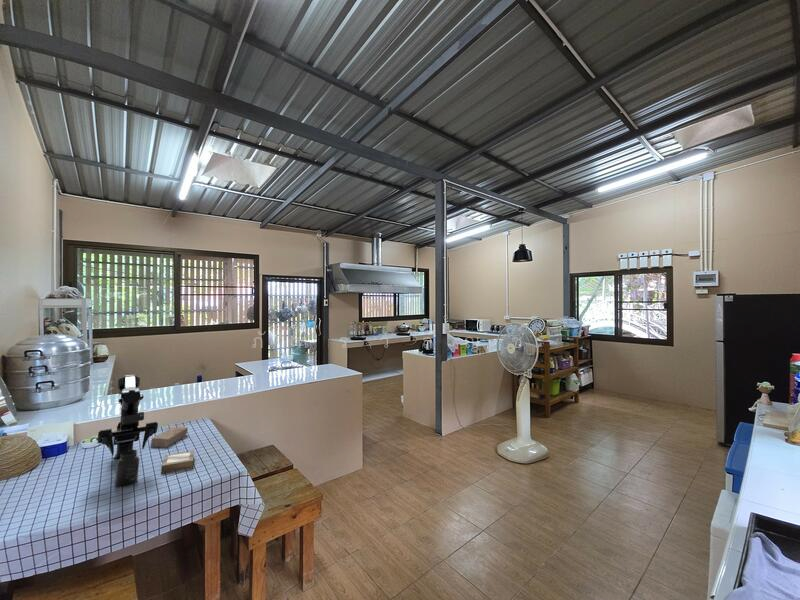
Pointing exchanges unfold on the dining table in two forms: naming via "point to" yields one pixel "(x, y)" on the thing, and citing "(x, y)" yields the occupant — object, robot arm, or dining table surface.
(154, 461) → the dining table surface
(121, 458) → the supplement bottle
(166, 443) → the brick
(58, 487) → the dining table surface
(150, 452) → the dining table surface
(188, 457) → the plate
